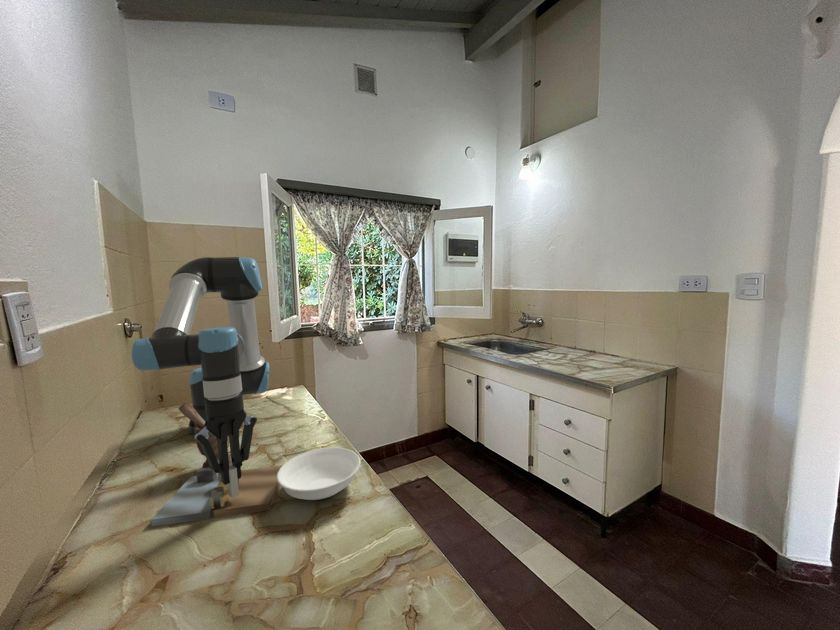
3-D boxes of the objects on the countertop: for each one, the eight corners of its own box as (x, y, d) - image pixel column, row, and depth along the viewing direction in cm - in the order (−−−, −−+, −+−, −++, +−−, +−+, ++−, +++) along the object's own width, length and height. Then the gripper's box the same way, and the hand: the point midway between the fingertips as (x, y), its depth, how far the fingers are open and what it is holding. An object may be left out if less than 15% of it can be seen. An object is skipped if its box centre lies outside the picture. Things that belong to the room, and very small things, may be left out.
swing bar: (222, 481, 85) (220, 467, 85) (241, 477, 86) (239, 464, 86) (206, 510, 74) (204, 495, 73) (228, 506, 75) (226, 490, 75)
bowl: (317, 530, 69) (315, 501, 68) (260, 500, 80) (258, 475, 79) (377, 481, 86) (376, 457, 85) (324, 462, 96) (323, 441, 96)
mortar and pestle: (186, 483, 88) (178, 410, 86) (184, 470, 95) (177, 402, 93) (235, 468, 95) (229, 400, 93) (230, 456, 102) (225, 393, 100)
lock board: (191, 482, 89) (190, 465, 88) (286, 470, 93) (284, 454, 92) (151, 526, 72) (149, 506, 71) (269, 510, 76) (267, 490, 76)
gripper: (245, 385, 83) (254, 476, 85) (184, 400, 73) (195, 503, 74) (260, 390, 78) (268, 486, 80) (196, 407, 68) (208, 516, 70)
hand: (233, 494), depth 77 cm, fingers closed
